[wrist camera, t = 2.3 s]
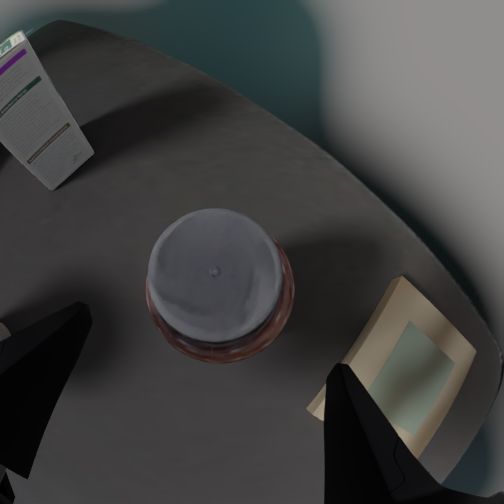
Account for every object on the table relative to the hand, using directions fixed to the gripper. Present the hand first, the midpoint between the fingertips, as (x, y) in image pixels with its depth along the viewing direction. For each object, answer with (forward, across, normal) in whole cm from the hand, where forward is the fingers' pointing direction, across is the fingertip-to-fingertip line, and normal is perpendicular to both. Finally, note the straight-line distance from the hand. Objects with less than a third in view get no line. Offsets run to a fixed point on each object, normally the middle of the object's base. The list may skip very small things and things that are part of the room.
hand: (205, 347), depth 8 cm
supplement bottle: (+8, 0, +5) cm, 10 cm away
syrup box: (+15, +19, -1) cm, 25 cm away
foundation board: (+6, -15, +8) cm, 18 cm away
